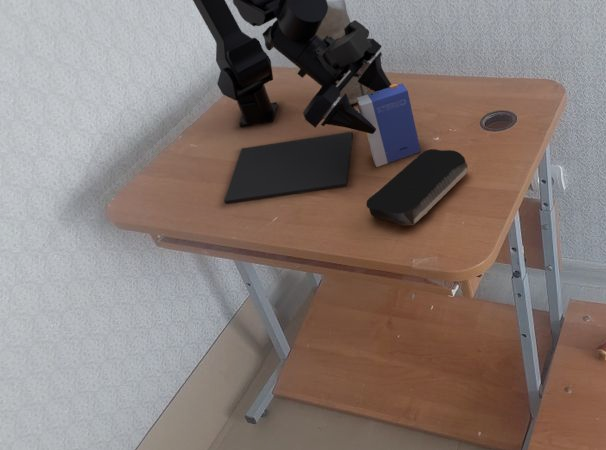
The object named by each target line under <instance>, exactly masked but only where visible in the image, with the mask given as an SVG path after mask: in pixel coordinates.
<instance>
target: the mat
mask: <svg viewBox="0 0 606 450" xmlns="http://www.w3.org/2000/svg"><path fill="white" fill-rule="evenodd" d="M353 137H354V133H353V131H348V132H342V133H336V134H328V135H322V136H315V137H309V138H308V137H307V138H302V139H296V140H295V139H294V140H289V141H288V140H287V141H282V142H275V143H269V144H263V145H262V144H261V145H256V146H248V147H242V148H241V150H240V153H239V155H238V158H237V161H236V165H235V167H234V170H233V173H232V176H231V179H230V182H229V185H228V188H227V191H226V194H225V197H224V200H223V203H224V204H225V205H226V204H234V203H239V202H246V201H253V200H261V199H268V198H275V197H281V196H288V195H295V194H302V193H309V192H314V191H315V192H316V191H323V190H330V189H336V188H343V187H347V185H348V179H349V178H348V177H349V169H350V162H351V154H352V146H353Z"/></svg>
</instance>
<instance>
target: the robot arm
mask: <svg viewBox="0 0 606 450" xmlns="http://www.w3.org/2000/svg"><path fill="white" fill-rule="evenodd" d="M226 1H227V0H192V2H193V3H194V5H195V7H196V9H197V10H198V13H199V14H200V16H201V18H202V20H203V22H204V23H205V25H206V27H207V29H208V31H209V32H210V34H211V36H212V38H213V40H214V41H215V44H216V46H215V62H216V64H217V66H218V68H219V71H220V72H219V76H218V80H217V83H216V84H217V86H218V89H219V90H220V92H221V94H222V96H225V97H227V98H229V99H231V100H234V101H236V103H237V105H238V108H239V110H240V113H241V117H240V119H239V122H238V126H239V127H241V128H242V127H247V126H254V125H260V124H261V125H262V124H268V123H272V122H273V121H274V119H275V116H276V112H277V109H278V106H279V104H278V102H277V101H274V102H271V100H270V97H269V94H268V92H267V90H266V86H265V84H268V83H270V82H272V81H273V80H274V75H273V67H272V61H271V58H270V56H269V55H268V54H267V53H266V51H264V48H263V46H262V44H261V42H260V40H259V39H258V38H256V37H251V36H249V35H248V34H246V33H245V32H243V31H242V30H241V27H240V26H239V23H238V22H237V19H236V18H235V17H234V14H233V13H232V10H231V9H230V7H229V5H228V3H227V2H226ZM232 3H233V5H234V7H235V8H236V9H237V12H238V14H239V15H240V17H241V18H242V19H243V20H244V21H245V22H246V23H248V24H249V25H251V26H252V27H261V26H263V25H265V24H267V23H269V22H271V21H273V20H274V19H276V20H275V21H274V22H273V23H272V25H269V26H268V28H266V30H264V31H263V32H262V34H261V35H262V37H263V40H264V46H265V48H266V50H267V51H271V50H272V49H275V50H276V51H278V53H280V54H281V55H283V56H284V58H286V59H287V60H288V61H289V62H291V63H292V64H294V65H295V66H296V67H297V68H299V71H298V72H297V75H298V76H299V77H301V79H303V78H305V76H306V75H307V76H308V77H310V78H311V79H312V80H313V81H314V82H316V83H317V84H318V85H320V86H321V87H320V89H319V90H318V91H317V93H315V95H314V96H313V97H312V99H311V100H310V102H309V103H308V104H307V106H306V107H305V108H304V109H303V111H302V115H303V117H304V119H305V121H306V122H307V123H309V124H310V125H311V126H312V127H314V128H316V127H317V126H318V125H319V124H320V122H321V121H322V120H323V121H322V122H321V126H322V127H325V126H326V125H330V126H335V127H341V128H345V129H350V130H354V131H358V132H362V133H365V134H366V133H370V134H373V133H374V132H375V131H376V128H375V127H374V126H373V125H372V124H371V123H370V122H369V121H368V120H367V119H366V118H364V117H363V116H362V115H361V114H360V113H359V110H357V109H356V108H354V107H353V106H352V104H351V105H350V102H349V100H348V97H347V94H346V93H345V94H344V96H343V97H342V98H341V97H340V92H341V91H342V89H343V88H344V87H345V86H346V85H347V84H348V82H349V81H350V80H351V79H352V78H353V77H358V76H360V79H359V80H358V81H357V82H359V83H360V84H362V85H364V86H366V87H367V89H369V90H371V91H373V92H376V91H380V90H383V89H386V88H389V87H390V85H392V83H391V82H390V81H391V80H389V78H388V77H387V74H386V73H385V71H384V69H383V66H382V56H383V53H382V51H380V49H381V48H382V47H383V46H382V45H381V44H380V43H379V42H378V41H377V40H375V39H374V38H369V36H370V30H369V29H368V28H366V27H365V26H364V25H363V24H362V23H360V22H359V21H358V20H356V19H354V20H352V21H350V22H351V23H349V24H348V25H347V26H346V27H345V28H344V31H345V35H343V36H342V38H340V39H339V40H337V41H336V40H334V39H333V38H332V37H330V36H329V37H328V36H326V37H325V38H324V39H322V38H321V37H319V36H318V35H317V34H316V32H317V31H318V29H319V27H320V25H321V23H322V21H323V19H324V18H325V16H326V14H327V11H328V4H327V1H326V0H232ZM378 52H379V53H378ZM377 53H378V54H377ZM344 73H346V75H345V76H344ZM337 80H338V81H339V83H338V84H337V83H336V81H337Z"/></svg>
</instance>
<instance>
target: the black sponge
mask: <svg viewBox="0 0 606 450" xmlns="http://www.w3.org/2000/svg"><path fill="white" fill-rule="evenodd" d="M467 170H468V163H467V161H466V158H465V156H464V155H462V153H460V152H458V151H456V150H451V149H445V150H441V149H435V148H430V149H426V150H424V151H423V152H420V153H419V155H417V157H415V158H414V159H413V160H412V161H411V162H409V163H408V164H407V165H406V166H405V167H404V168H403V169H402V170H400V171H399V172H398V173H397V174H396V175H394V177H392V178H391V179H390V180H389V181H388V182H387V183H386V184H384V186H382V187H381V188H380V189H379V190H377V192H375V193H374V194H373V195H371V196H370V197H369V198H368V199H367V200H366V203H365V206H366V207H367V209H368V210H369V213H370V215H371V216H372V217H374V218H375V219H380V220H385V221H386V220H387V221H390V222H393V223H395V224H397V225H399V226H413V225H416V223H417V222H419V221H420V219H422V217H424V216H425V215H427V214H428V212H429V211H430V210H431V209H432V208H433V207H434V206H435V205H436V204H437V203H438V202H439V201H441V199H442V198H443V197H444V196H445V195H446V194H447V193H448V192H449V191H451V189H453V187H454V186H456V184H457V183H458V182H459V181H460V180H462V178H463V177H465V175H466V174H467V173H468V171H467Z"/></svg>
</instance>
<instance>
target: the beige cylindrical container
mask: <svg viewBox="0 0 606 450" xmlns="http://www.w3.org/2000/svg"><path fill="white" fill-rule="evenodd" d="M326 1H327V4H328V11H327V14H326V16H325V18H324V19H323V21H322V23H321V25H320V27H319V29H318V31H317V32H316V34H317V35H318V36H319V37H321V38H322V39H324V38H325V37H326V36H328V37H329V36H330V37H332V38H333V39H334V40H336V41H337V40H339V39H340V38H342V36H343V35H345V31H344V28H345V27H346V26H347V25H348V24H349V23H351V22H352V21H351V19H350V17H349V13H348V10H347V3H346V1H345V0H326ZM345 75H346V73H344V76H345ZM359 79H360V76H358V77H353V78H352V79H351V80H350V81H349V82H348V84H347V85H346V86H345V87H344V88H343V89H342V91H341V92H340V97H341V98H342V97H343V96H344V94H345V93H346V94H347V97H348V100H349V102H350V105H351V106H352V105H355V104H358V100H357V98H358V97H361V96H364V95H367V94H369V91H368V88H367V87H366V86H364V85H362V84H360V83H359V82H357V81H358V80H359ZM336 83H337V84H338V83H339V81H338V80H337V81H336Z"/></svg>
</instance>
